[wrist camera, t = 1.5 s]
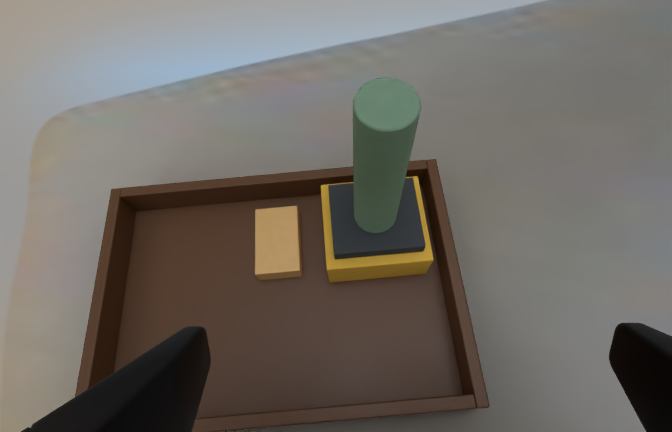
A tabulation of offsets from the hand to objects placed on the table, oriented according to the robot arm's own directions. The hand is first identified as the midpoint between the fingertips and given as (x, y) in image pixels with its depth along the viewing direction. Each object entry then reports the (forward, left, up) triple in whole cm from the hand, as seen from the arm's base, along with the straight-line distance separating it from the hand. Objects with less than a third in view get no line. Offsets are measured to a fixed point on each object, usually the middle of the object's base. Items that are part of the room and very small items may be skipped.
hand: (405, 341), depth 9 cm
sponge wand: (+6, +5, -13) cm, 15 cm away
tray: (0, +7, -14) cm, 15 cm away
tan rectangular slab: (+2, +9, -13) cm, 16 cm away
